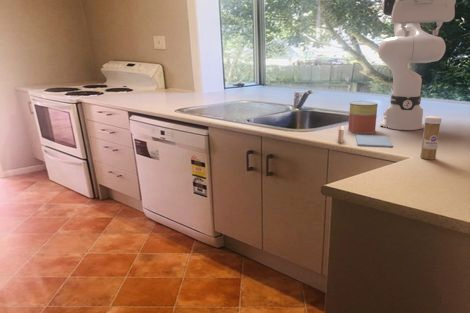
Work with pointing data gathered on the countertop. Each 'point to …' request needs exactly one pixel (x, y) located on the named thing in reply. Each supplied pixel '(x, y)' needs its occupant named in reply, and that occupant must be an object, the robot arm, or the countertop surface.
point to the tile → (340, 134)
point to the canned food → (362, 116)
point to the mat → (373, 141)
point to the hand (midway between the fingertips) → (420, 35)
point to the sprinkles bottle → (430, 137)
